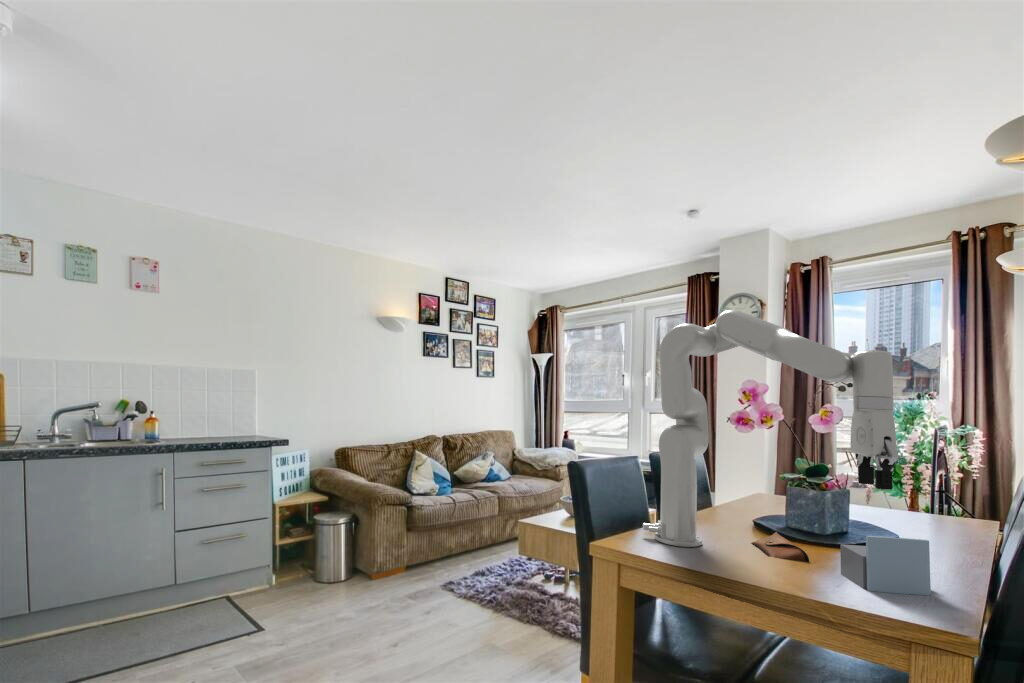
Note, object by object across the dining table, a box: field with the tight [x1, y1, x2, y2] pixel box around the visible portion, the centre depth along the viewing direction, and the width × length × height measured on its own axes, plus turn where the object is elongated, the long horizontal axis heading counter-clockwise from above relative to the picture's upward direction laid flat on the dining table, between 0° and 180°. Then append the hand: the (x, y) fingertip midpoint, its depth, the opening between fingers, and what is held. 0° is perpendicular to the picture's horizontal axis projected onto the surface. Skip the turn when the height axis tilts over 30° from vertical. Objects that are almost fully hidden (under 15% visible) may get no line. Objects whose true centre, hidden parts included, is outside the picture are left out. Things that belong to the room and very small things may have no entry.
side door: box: [865, 535, 932, 596], centre depth 110 cm, size 12×1×11 cm, turn 84°
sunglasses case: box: [750, 531, 810, 563], centre depth 137 cm, size 18×7×7 cm
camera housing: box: [839, 543, 867, 590], centre depth 115 cm, size 15×9×7 cm, turn 84°
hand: (874, 485), depth 117 cm, fingers open, 5 cm apart
